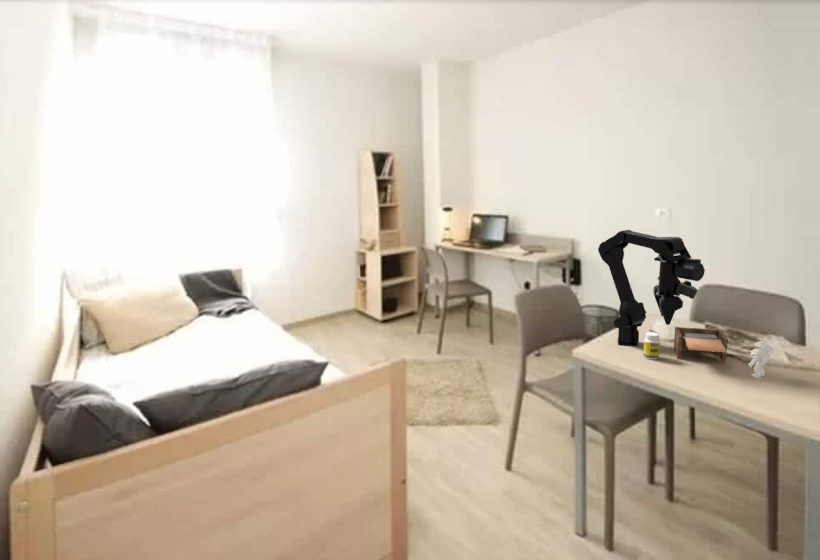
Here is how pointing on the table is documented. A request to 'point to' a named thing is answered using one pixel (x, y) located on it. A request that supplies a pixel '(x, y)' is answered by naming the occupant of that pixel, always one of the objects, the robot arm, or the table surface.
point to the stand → (681, 333)
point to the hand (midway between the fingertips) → (665, 320)
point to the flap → (703, 342)
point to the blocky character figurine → (760, 358)
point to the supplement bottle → (651, 346)
